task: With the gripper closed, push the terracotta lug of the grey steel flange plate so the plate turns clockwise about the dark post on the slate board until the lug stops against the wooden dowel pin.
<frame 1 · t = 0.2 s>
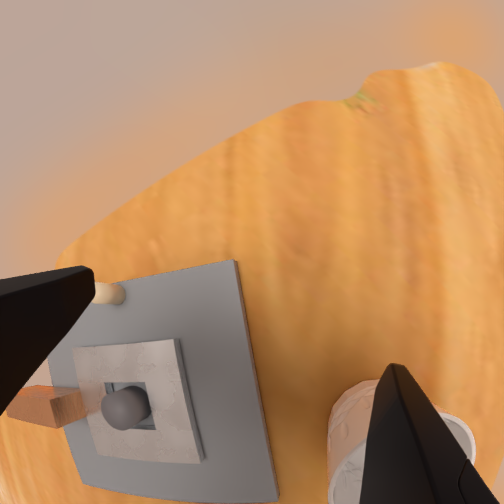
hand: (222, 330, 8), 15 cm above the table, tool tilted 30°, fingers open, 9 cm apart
flange plate: (83, 408, 20), point 4 cm above the table, hinge at 0.0°
slate board: (143, 399, 23), on the table
white cup: (370, 417, 20), on the table
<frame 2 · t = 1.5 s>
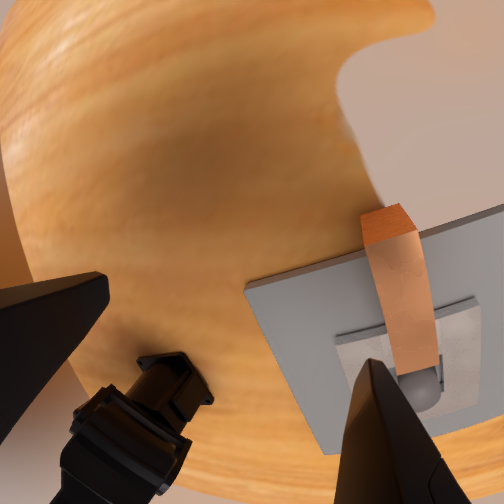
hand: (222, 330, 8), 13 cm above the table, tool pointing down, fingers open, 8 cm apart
flange plate: (415, 357, 16), point 4 cm above the table, hinge at 0.0°
slate board: (414, 360, 20), on the table
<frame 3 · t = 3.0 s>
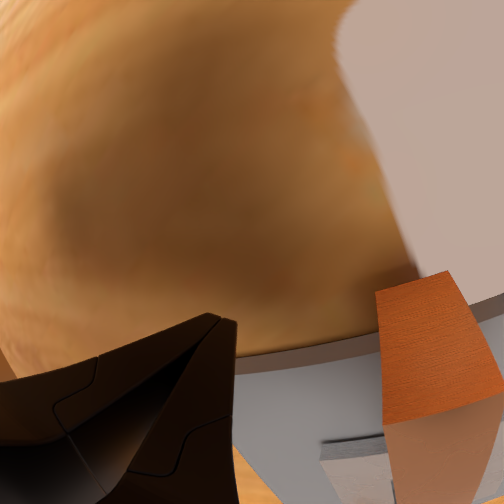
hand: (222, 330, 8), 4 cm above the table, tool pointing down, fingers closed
flange plate: (431, 484, 8), point 4 cm above the table, hinge at 0.0°
slate board: (427, 454, 13), on the table
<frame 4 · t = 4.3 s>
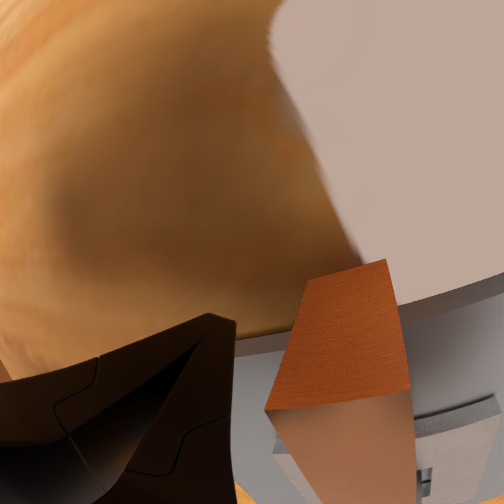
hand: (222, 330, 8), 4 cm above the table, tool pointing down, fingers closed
flange plate: (387, 487, 9), point 4 cm above the table, hinge at 0.0°, touching gripper
slate board: (394, 455, 13), on the table
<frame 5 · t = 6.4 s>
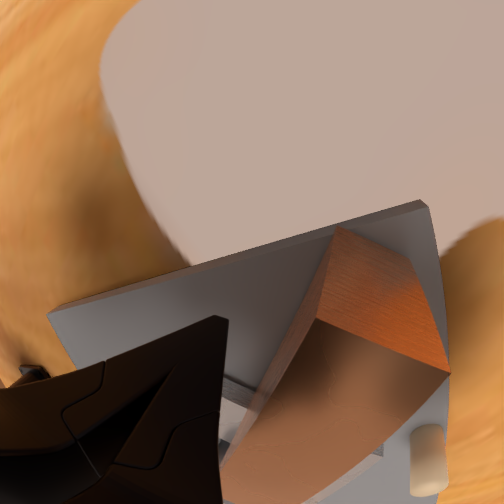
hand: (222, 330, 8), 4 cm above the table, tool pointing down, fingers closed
flange plate: (253, 462, 10), point 4 cm above the table, hinge at -40.7°, touching gripper
slate board: (254, 434, 15), on the table
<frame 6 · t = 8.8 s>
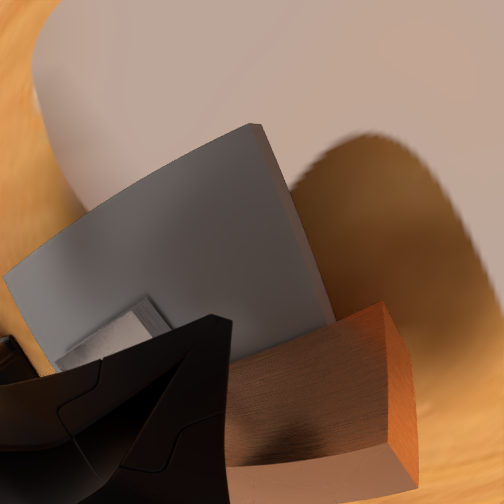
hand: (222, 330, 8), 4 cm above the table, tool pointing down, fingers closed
flange plate: (177, 435, 10), point 4 cm above the table, hinge at -77.2°, touching gripper
slate board: (168, 389, 16), on the table
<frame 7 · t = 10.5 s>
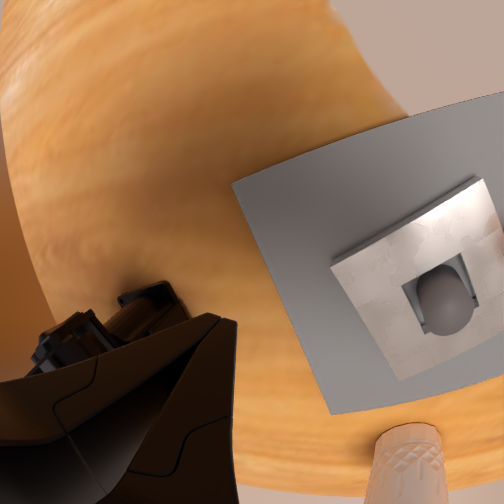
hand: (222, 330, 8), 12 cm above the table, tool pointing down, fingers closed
slate board: (434, 277, 17), on the table
white cup: (407, 439, 24), on the table
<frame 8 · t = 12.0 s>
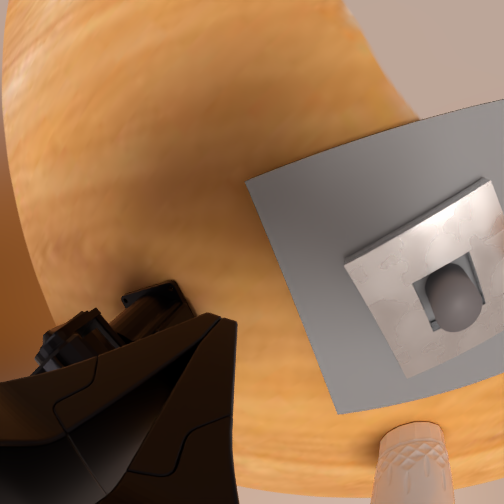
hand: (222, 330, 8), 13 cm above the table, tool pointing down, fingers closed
slate board: (442, 276, 18), on the table
white cup: (411, 438, 24), on the table
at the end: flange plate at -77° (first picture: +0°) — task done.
